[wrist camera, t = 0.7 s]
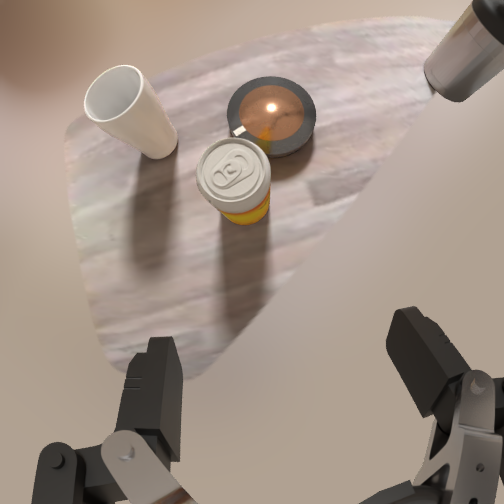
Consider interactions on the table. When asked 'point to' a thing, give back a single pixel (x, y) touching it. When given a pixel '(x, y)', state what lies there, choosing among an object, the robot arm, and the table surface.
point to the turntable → (272, 115)
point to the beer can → (235, 179)
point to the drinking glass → (130, 111)
